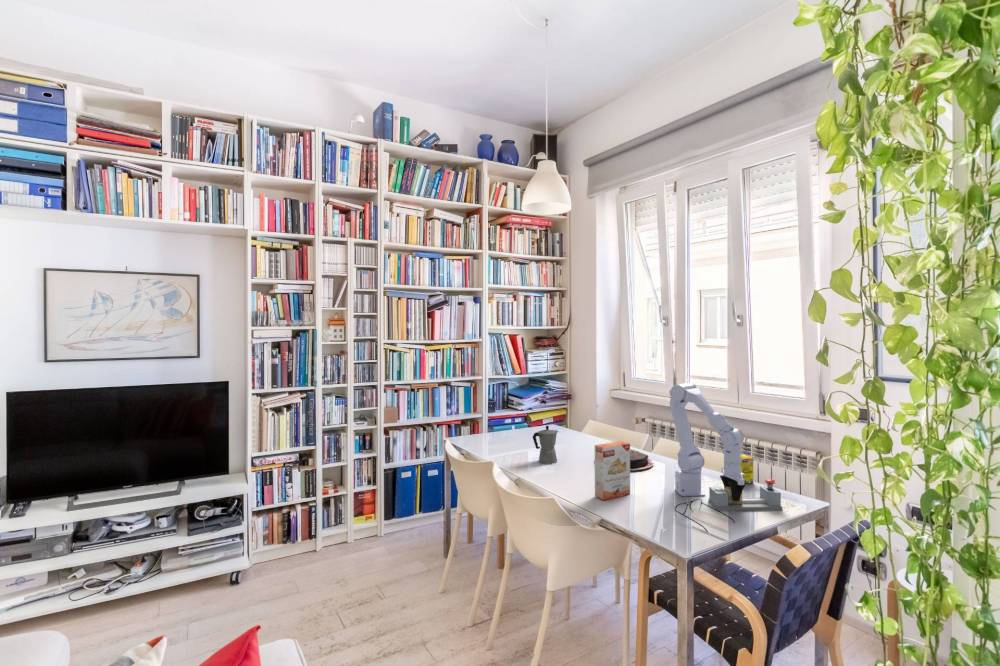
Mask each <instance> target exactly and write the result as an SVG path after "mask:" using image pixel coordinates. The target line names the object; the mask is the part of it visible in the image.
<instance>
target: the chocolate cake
mask: <svg viewBox="0 0 1000 666" xmlns="http://www.w3.org/2000/svg"><path fill="white" fill-rule="evenodd" d="M653 466H654V461H653V460H652V459H650V458H649V455H648V454H645V453H643V452H641V451H639V450H638V451H637V450H635V449H631V448H630V471H631V472H641V470H642V471H645V470H648V469H649V468H651V467H653Z"/></svg>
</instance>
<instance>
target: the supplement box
mask: <svg viewBox="0 0 1000 666" xmlns="http://www.w3.org/2000/svg"><path fill="white" fill-rule="evenodd" d="M741 473H743V474H744V476H742V478H743V479H744V483H745V484H746V485H748V484H754V457H752V456H750V455H749V456H748V455H746V454H741ZM749 482H751V483H749Z"/></svg>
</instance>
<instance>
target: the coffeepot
mask: <svg viewBox="0 0 1000 666" xmlns="http://www.w3.org/2000/svg"><path fill="white" fill-rule="evenodd" d="M549 427H550V426H549V425H546V426H545V429H542V430H539V431H537V432H534V433H533V434H532V439H533V443H534V446H535V448H536V450H537V449H538V450H539V449H540V450H539V457H538V462H539V463H540V464H544V465H552V463H554V464H556V463H557V462H558V458H557V452H556V449H555V445H556V441H557V435H558V434H557V433H558V432H559V430H556V429H550V428H549ZM537 437H538V439H539V443H538V441H537ZM538 444H539V445H540V446H538Z"/></svg>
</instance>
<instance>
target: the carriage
mask: <svg viewBox="0 0 1000 666" xmlns="http://www.w3.org/2000/svg"><path fill="white" fill-rule="evenodd" d="M723 490H725V491H726V492H727V493H728V504H742V498H743V492H742V493H741V496H740V500H739V501H733V499H732V492H731V488H730V487H724V486H723Z"/></svg>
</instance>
